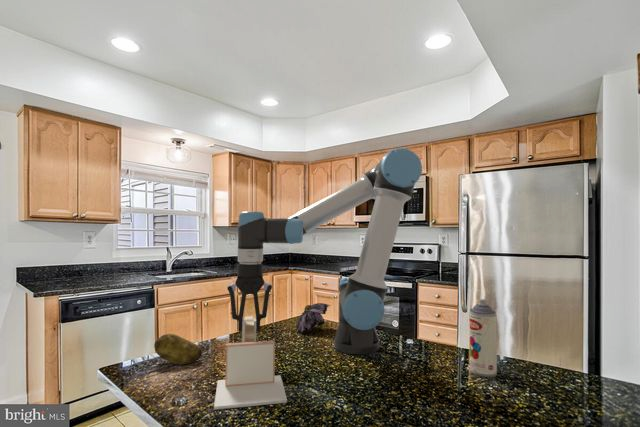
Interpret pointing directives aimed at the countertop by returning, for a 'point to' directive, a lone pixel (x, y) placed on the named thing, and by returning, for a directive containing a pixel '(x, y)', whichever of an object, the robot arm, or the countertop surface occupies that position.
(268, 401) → the mat
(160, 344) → the potato
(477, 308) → the aerosol can
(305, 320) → the decorative flower
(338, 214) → the robot arm
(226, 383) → the tile
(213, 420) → the countertop surface
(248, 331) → the scraper
